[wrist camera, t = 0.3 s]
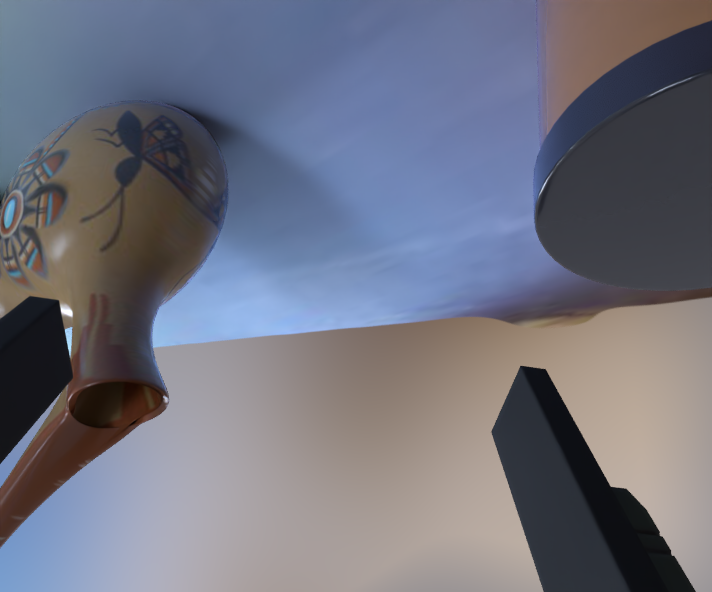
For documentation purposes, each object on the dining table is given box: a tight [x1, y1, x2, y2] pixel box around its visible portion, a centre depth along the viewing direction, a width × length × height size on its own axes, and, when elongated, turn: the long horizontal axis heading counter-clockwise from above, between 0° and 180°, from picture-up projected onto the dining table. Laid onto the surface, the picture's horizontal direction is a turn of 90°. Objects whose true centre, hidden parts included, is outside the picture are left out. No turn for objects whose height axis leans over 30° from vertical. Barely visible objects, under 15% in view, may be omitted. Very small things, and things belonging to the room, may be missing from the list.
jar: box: [533, 0, 712, 291], centre depth 13 cm, size 8×8×12 cm
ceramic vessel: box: [0, 100, 228, 547], centre depth 21 cm, size 16×9×25 cm, turn 115°
